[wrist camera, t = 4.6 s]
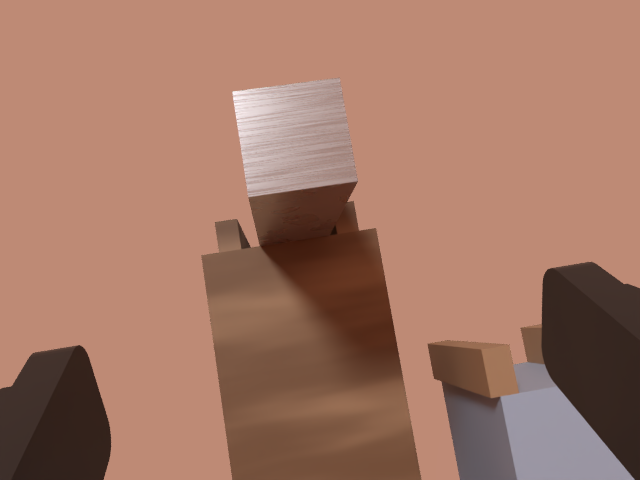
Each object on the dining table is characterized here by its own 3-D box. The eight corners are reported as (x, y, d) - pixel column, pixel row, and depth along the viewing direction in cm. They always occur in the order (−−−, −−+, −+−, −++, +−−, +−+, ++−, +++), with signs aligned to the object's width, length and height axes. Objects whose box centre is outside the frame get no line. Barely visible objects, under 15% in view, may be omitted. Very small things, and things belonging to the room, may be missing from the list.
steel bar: (357, 181, 18) (339, 77, 18) (248, 197, 17) (232, 91, 18) (313, 267, 41) (305, 221, 42) (266, 274, 41) (259, 228, 41)
